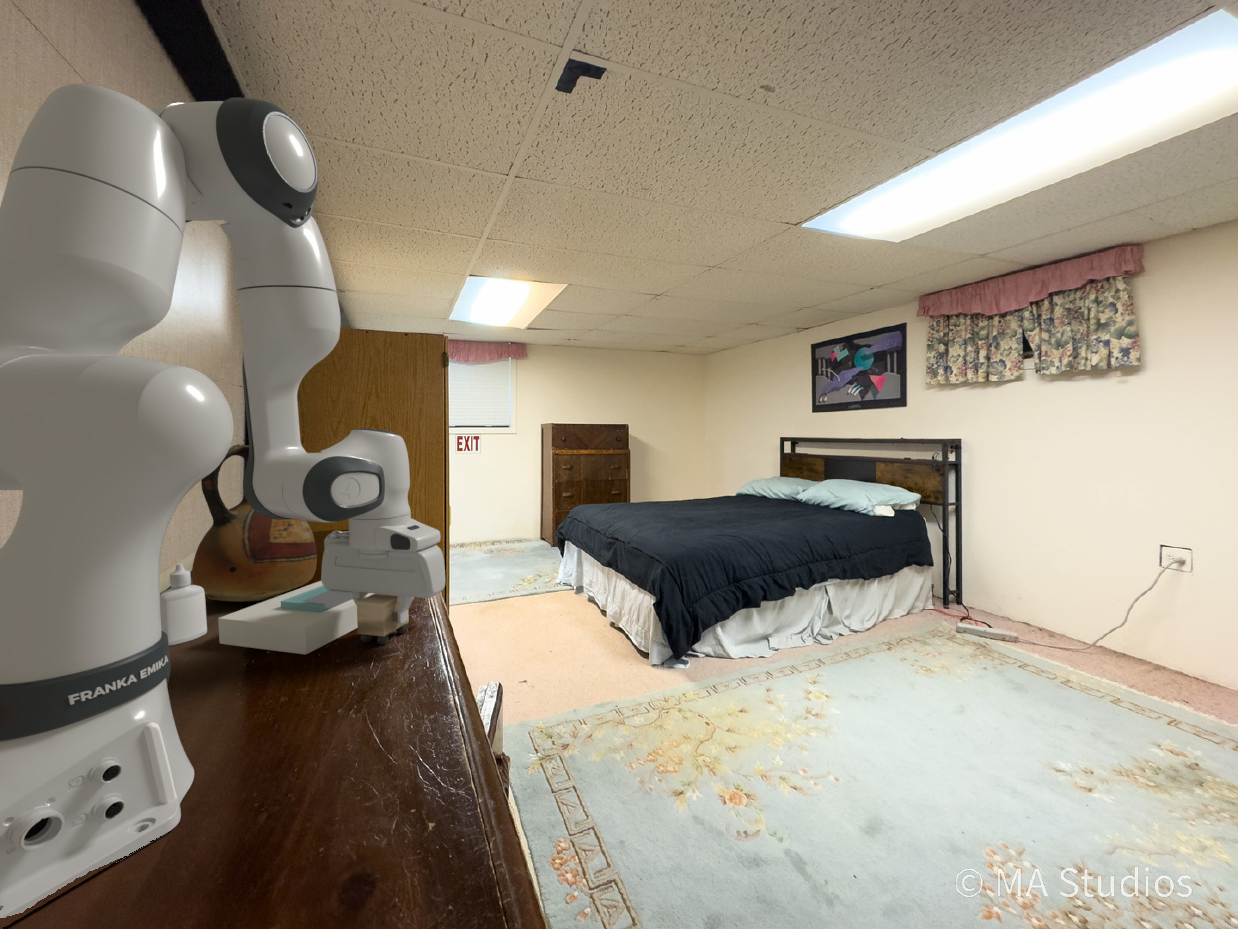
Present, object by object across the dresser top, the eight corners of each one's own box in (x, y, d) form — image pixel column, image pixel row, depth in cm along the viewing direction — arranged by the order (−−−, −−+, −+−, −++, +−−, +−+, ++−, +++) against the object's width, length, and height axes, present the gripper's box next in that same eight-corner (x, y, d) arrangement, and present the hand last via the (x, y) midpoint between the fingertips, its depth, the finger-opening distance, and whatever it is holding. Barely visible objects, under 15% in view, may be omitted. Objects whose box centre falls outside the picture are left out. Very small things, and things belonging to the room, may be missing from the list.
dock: (305, 654, 75) (304, 619, 75) (219, 643, 79) (217, 610, 79) (395, 607, 95) (394, 580, 94) (322, 600, 98) (321, 574, 98)
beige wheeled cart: (384, 646, 78) (382, 604, 77) (358, 643, 79) (356, 601, 79) (409, 631, 84) (407, 591, 83) (384, 628, 85) (383, 589, 84)
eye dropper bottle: (206, 639, 81) (201, 564, 80) (158, 648, 77) (153, 570, 76) (207, 630, 84) (203, 558, 83) (162, 638, 81) (157, 563, 80)
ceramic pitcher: (339, 587, 107) (333, 442, 105) (232, 620, 89) (223, 446, 87) (279, 575, 115) (273, 441, 113) (171, 603, 97) (160, 444, 95)
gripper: (308, 533, 80) (312, 621, 81) (425, 540, 75) (428, 633, 76) (339, 526, 86) (342, 607, 87) (449, 532, 81) (451, 618, 82)
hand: (383, 619), depth 81 cm, fingers closed on beige wheeled cart, 5 cm apart
